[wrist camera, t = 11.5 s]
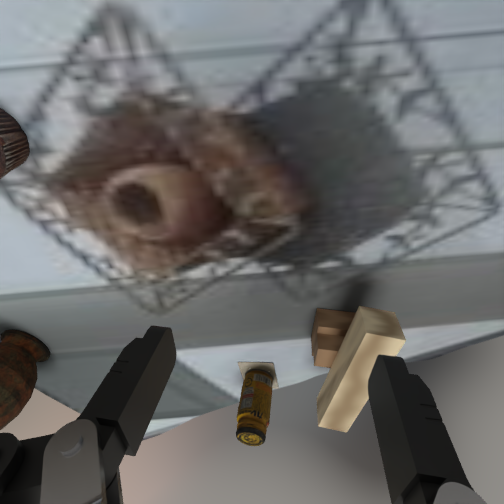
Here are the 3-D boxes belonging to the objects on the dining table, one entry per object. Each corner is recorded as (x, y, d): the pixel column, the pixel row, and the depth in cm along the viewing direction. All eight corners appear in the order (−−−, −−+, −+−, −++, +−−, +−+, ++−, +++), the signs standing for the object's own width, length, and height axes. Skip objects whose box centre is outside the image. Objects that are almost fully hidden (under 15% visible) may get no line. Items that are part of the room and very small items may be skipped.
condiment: (245, 386, 61) (235, 447, 51) (238, 361, 57) (224, 423, 47) (278, 387, 59) (274, 450, 49) (273, 361, 55) (267, 425, 45)
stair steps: (379, 315, 45) (391, 351, 39) (368, 344, 49) (378, 380, 43) (316, 308, 46) (319, 342, 40) (311, 336, 50) (312, 371, 44)
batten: (394, 312, 35) (406, 340, 31) (342, 404, 47) (346, 432, 43) (359, 305, 36) (366, 332, 32) (316, 398, 47) (318, 426, 44)
